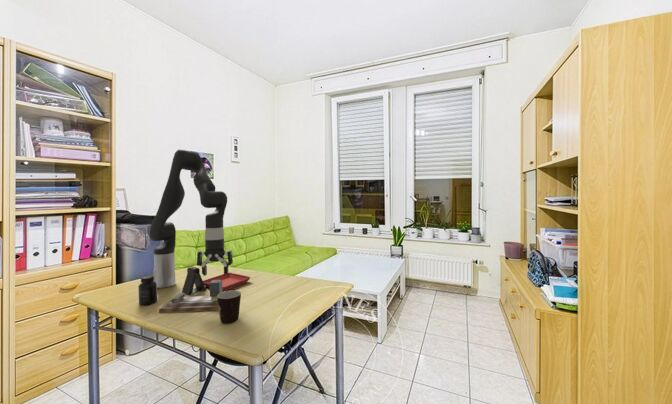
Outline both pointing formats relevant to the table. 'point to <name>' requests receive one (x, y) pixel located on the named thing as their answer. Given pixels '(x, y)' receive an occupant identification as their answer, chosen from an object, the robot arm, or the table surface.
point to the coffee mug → (229, 306)
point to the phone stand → (193, 281)
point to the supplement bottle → (147, 291)
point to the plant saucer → (228, 280)
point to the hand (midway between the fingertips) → (215, 274)
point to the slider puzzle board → (189, 304)
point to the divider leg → (215, 289)
